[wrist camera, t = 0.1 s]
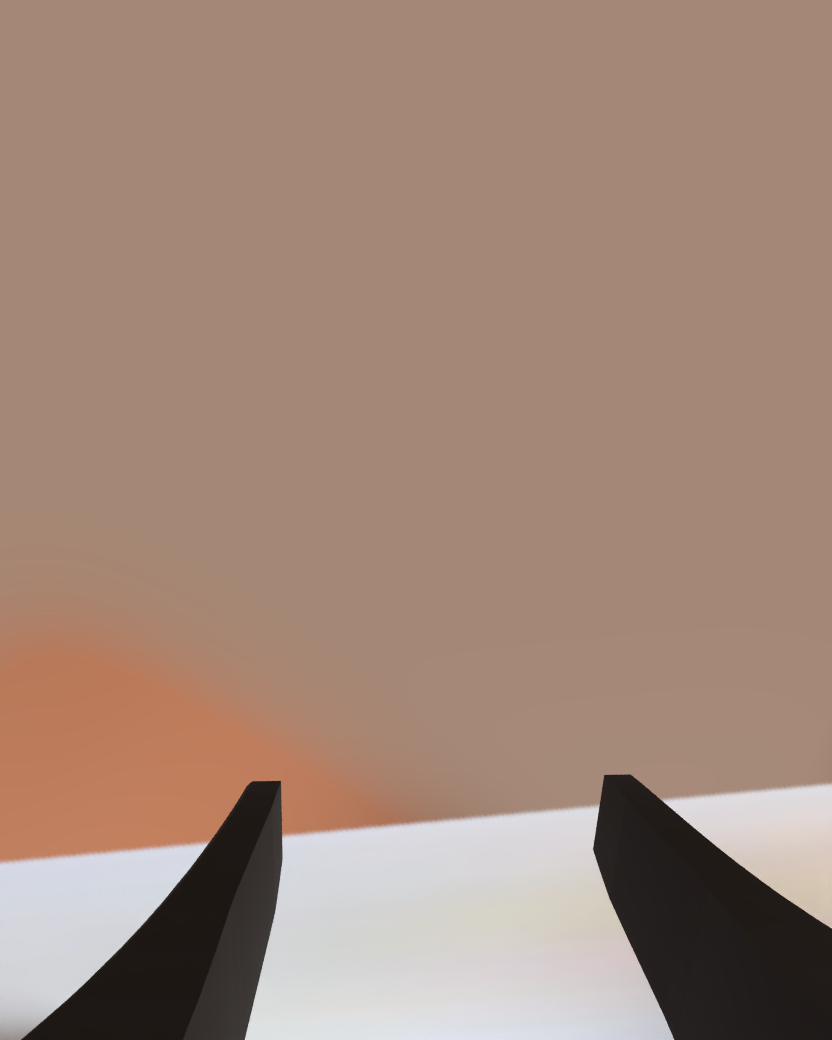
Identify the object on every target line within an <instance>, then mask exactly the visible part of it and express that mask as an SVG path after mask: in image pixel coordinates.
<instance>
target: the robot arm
mask: <svg viewBox="0 0 832 1040" xmlns="http://www.w3.org/2000/svg"><path fill="white" fill-rule="evenodd" d="M281 815H282V812H281V781H253V782H251V783H250V784H249V785H248V786H247V787H246V789H245V790H244V792H243V794H242V795H241V797H240V799H239V800H238V802H237V803H236V805H235V806H234V808H233V810H232V811H231V812H230V814H229V816H228V817H227V818H226V820H225V821H224V823H223V824H222V826H221V827H220V829H219V830H218V832H217V833H216V834H215V836H214V837H213V838H212V840H211V841H210V843H209V844H208V845H207V847H206V848H205V849H204V851H203V852H202V853H201V855H200V856H199V857H198V859H197V860H196V862H195V863H194V864H193V865H192V867H191V868H190V869H189V871H188V872H187V873H186V874H185V875H184V877H183V878H182V879H181V880H180V882H179V883H178V884H177V885H176V886H175V888H174V889H173V890H172V891H171V893H170V894H169V895H168V896H167V898H166V899H165V900H164V901H163V902H162V903H161V905H160V906H159V907H158V908H157V909H156V910H155V912H154V913H153V914H152V915H151V916H150V917H149V918H148V919H147V921H146V922H145V923H144V924H143V925H142V926H141V927H140V928H139V929H138V930H137V931H136V932H135V934H134V935H133V936H132V937H131V938H130V939H129V940H128V941H127V942H126V943H125V944H124V945H123V946H122V947H121V948H120V949H119V950H118V951H117V952H116V953H115V954H114V955H113V956H112V957H111V958H110V959H109V960H108V961H107V962H106V963H105V964H104V965H103V966H102V967H101V968H100V969H99V970H98V971H97V972H96V973H95V974H94V975H93V976H92V977H91V978H90V979H89V980H88V981H87V982H86V983H85V984H84V985H83V986H82V987H81V988H79V989H78V990H77V991H76V992H75V993H74V994H73V995H72V996H71V997H70V998H69V999H68V1000H67V1001H65V1002H64V1003H63V1004H62V1005H61V1006H60V1007H59V1008H57V1009H56V1010H55V1011H54V1012H53V1013H52V1014H50V1015H49V1016H48V1017H47V1018H46V1019H45V1020H44V1021H42V1022H41V1023H40V1024H39V1025H38V1026H37V1027H35V1028H34V1029H33V1030H32V1031H31V1032H30V1033H28V1034H27V1035H26V1036H25V1037H24V1038H23V1039H21V1040H245V1036H246V1032H247V1027H248V1023H249V1019H250V1015H251V1011H252V1007H253V1002H254V998H255V994H256V990H257V986H258V982H259V978H260V973H261V969H262V965H263V961H264V957H265V953H266V948H267V944H268V940H269V936H270V931H271V927H272V923H273V919H274V914H275V909H276V902H277V895H278V888H279V881H280V874H281V866H282V816H281ZM593 850H594V854H595V857H596V860H597V863H598V866H599V869H600V872H601V875H602V878H603V881H604V884H605V887H606V890H607V892H608V895H609V898H610V900H611V903H612V905H613V907H614V909H615V912H616V914H617V916H618V918H619V920H620V922H621V925H622V927H623V929H624V931H625V933H626V935H627V938H628V940H629V942H630V944H631V946H632V948H633V950H634V952H635V955H636V957H637V959H638V961H639V963H640V965H641V967H642V969H643V972H644V974H645V976H646V978H647V980H648V982H649V984H650V986H651V989H652V991H653V993H654V995H655V997H656V999H657V1001H658V1003H659V1006H660V1008H661V1010H662V1012H663V1014H664V1016H665V1019H666V1021H667V1023H668V1026H669V1028H670V1030H671V1033H672V1035H673V1037H674V1040H832V929H831V928H830V927H828V926H827V925H825V924H823V923H822V922H820V921H819V920H817V919H816V918H814V917H813V916H811V915H810V914H808V913H807V912H805V911H804V910H802V909H801V908H799V907H798V906H796V905H795V904H793V903H792V902H790V901H789V900H787V899H786V898H784V897H783V896H781V895H780V894H779V893H777V892H776V891H774V890H773V889H772V888H770V887H769V886H767V885H766V884H765V883H763V882H762V881H761V880H759V879H758V878H757V877H755V876H754V875H753V874H751V873H750V872H749V871H747V870H746V869H745V868H743V867H742V866H741V865H739V864H738V863H737V862H735V861H734V860H733V859H732V858H730V857H729V856H728V855H727V854H725V853H724V852H723V851H721V850H720V849H719V848H718V847H716V846H715V845H714V844H713V843H712V842H710V841H709V840H708V839H707V838H705V837H704V836H703V835H702V834H701V833H699V832H698V831H697V830H696V829H695V828H693V827H692V826H691V825H690V824H689V823H687V822H686V821H685V820H684V819H683V818H682V817H680V816H679V815H678V814H677V813H676V812H674V811H673V810H672V809H671V808H670V807H669V806H667V805H666V804H665V803H664V802H663V801H662V800H660V799H659V798H658V797H657V796H656V795H654V794H653V793H652V792H651V791H650V790H649V789H648V788H646V787H645V786H644V785H643V784H642V783H640V782H639V781H638V780H637V779H635V778H634V777H633V776H631V775H604V781H603V787H602V795H601V801H600V807H599V814H598V821H597V827H596V834H595V840H594V847H593Z"/></svg>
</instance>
